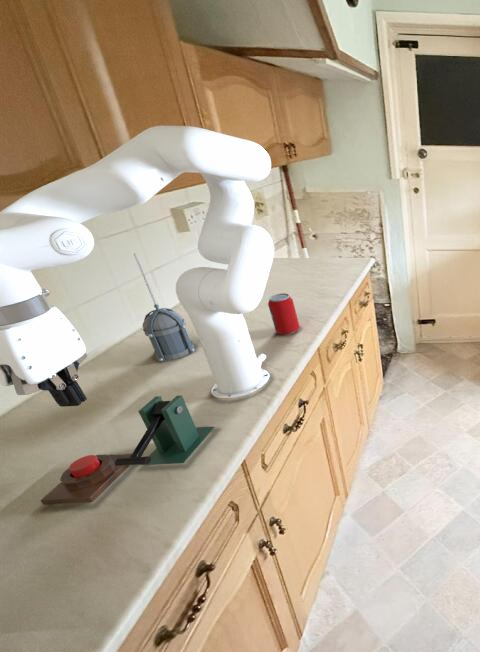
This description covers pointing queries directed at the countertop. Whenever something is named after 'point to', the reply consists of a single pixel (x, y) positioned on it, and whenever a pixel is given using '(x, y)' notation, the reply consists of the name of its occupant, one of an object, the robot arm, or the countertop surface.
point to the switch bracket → (173, 432)
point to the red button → (84, 466)
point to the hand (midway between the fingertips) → (74, 403)
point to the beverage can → (283, 314)
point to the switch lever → (145, 439)
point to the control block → (86, 482)
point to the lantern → (166, 332)
